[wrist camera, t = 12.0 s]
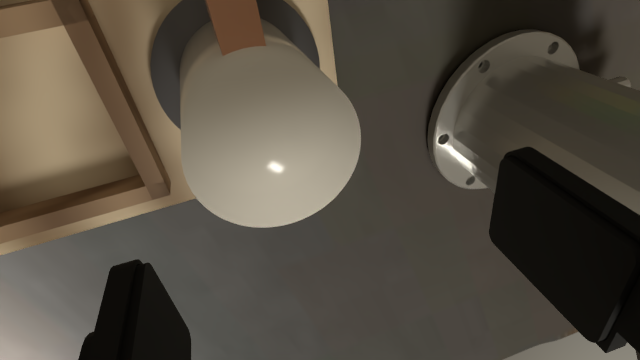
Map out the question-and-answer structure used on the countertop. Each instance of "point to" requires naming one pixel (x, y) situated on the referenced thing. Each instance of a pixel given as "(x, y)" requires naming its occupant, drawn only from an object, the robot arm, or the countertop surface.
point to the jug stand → (105, 107)
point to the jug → (261, 122)
